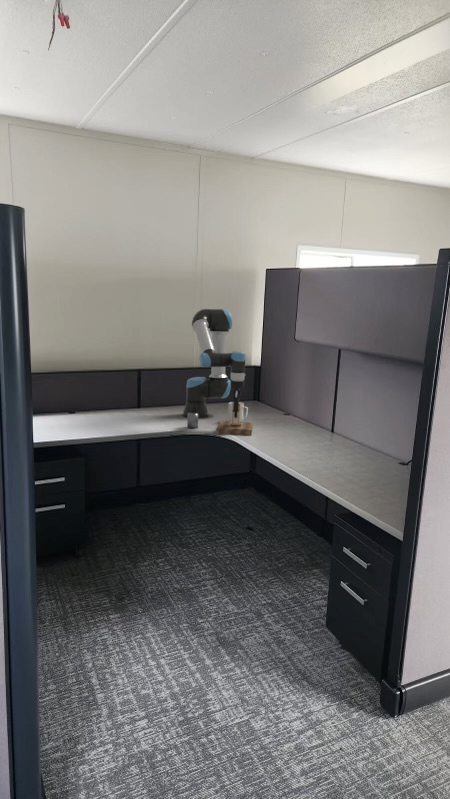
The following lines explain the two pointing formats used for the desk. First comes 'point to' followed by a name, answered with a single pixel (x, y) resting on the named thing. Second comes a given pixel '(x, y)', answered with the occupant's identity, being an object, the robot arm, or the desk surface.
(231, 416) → the mug
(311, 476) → the desk surface
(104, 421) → the desk surface
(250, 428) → the socket block
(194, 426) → the grey rounded block
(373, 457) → the desk surface
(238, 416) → the square peg
